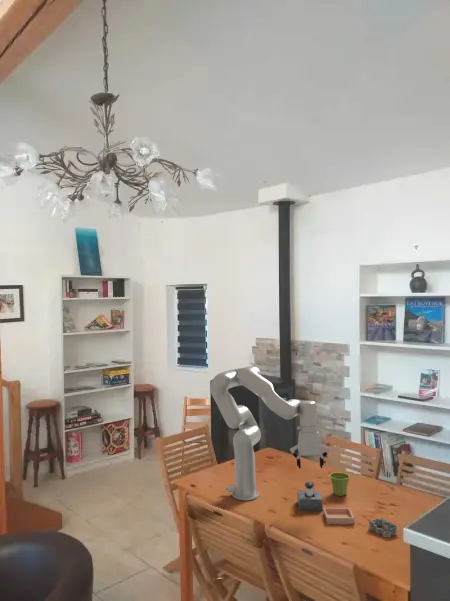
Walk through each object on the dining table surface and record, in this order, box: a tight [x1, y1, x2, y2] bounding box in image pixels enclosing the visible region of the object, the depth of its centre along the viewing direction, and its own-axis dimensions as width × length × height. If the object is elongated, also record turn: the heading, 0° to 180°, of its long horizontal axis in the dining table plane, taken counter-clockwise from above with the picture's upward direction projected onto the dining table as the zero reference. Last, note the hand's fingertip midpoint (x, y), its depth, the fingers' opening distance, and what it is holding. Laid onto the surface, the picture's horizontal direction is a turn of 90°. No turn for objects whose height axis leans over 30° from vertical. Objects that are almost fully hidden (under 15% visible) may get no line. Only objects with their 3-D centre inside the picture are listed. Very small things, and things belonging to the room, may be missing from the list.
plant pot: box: [329, 471, 351, 497], centre depth 237 cm, size 9×9×9 cm
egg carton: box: [367, 517, 399, 538], centre depth 197 cm, size 11×8×4 cm
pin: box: [304, 481, 315, 497], centre depth 223 cm, size 4×4×10 cm
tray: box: [322, 507, 356, 525], centre depth 209 cm, size 11×10×2 cm
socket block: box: [296, 490, 324, 512], centre depth 223 cm, size 10×10×5 cm
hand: (310, 467), depth 223 cm, fingers open, 9 cm apart
